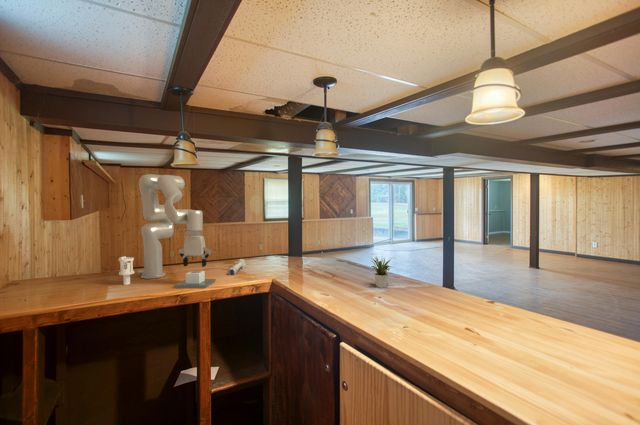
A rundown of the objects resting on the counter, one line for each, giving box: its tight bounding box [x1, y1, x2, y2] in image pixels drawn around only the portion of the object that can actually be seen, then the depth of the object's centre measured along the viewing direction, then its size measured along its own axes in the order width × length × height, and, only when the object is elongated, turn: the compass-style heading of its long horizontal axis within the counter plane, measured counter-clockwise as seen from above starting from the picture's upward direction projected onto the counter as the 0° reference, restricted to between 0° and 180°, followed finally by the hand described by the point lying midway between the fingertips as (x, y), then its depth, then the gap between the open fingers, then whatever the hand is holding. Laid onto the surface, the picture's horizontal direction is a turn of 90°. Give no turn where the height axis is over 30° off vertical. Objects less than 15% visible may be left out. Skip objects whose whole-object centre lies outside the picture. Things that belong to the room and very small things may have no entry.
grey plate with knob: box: [173, 272, 217, 289], centre depth 166 cm, size 16×14×6 cm
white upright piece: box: [118, 255, 135, 286], centre depth 169 cm, size 7×7×15 cm
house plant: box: [367, 254, 393, 289], centre depth 160 cm, size 14×14×16 cm
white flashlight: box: [227, 258, 247, 276], centre depth 202 cm, size 5×7×25 cm
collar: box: [185, 270, 206, 284], centre depth 166 cm, size 7×7×5 cm
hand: (194, 266), depth 166 cm, fingers open, 9 cm apart
